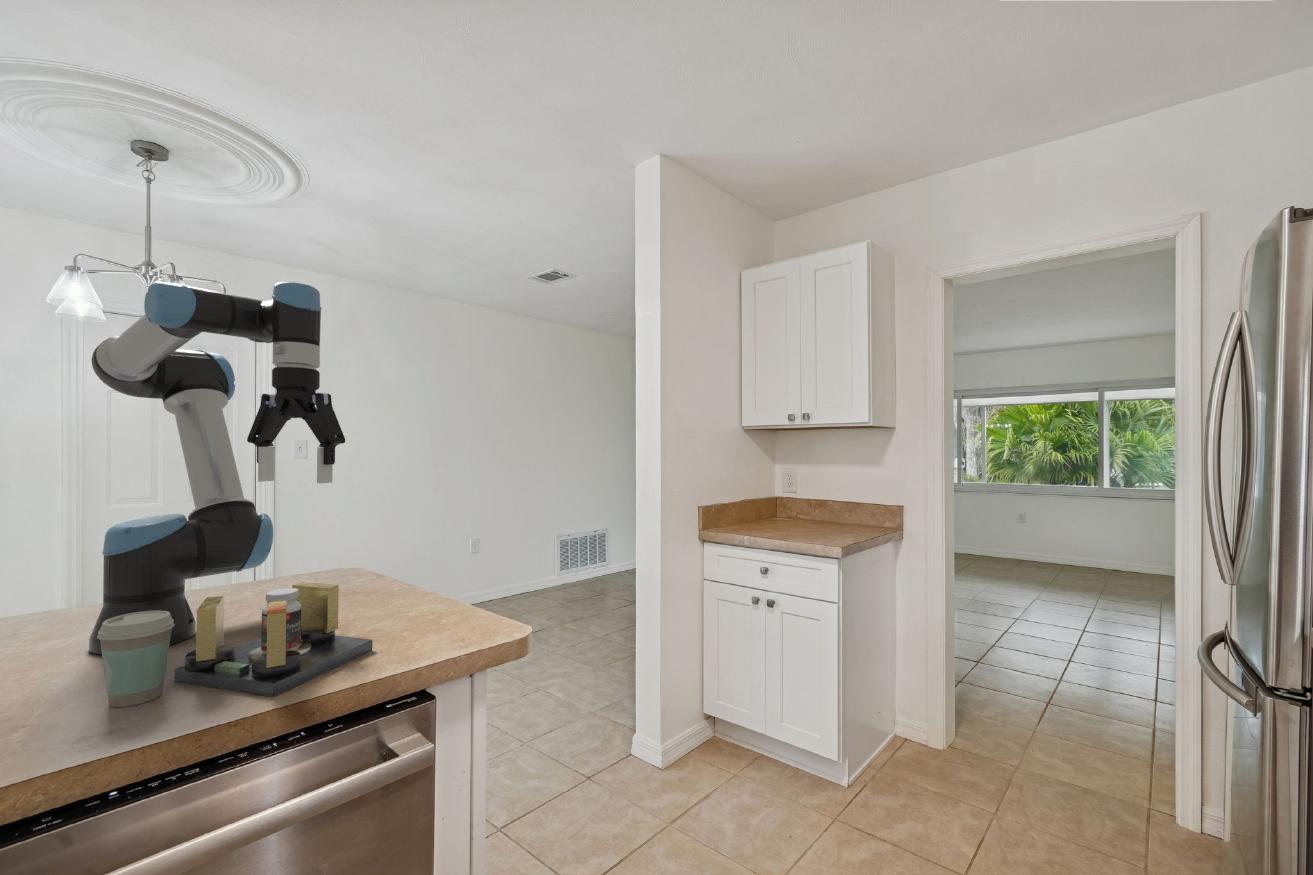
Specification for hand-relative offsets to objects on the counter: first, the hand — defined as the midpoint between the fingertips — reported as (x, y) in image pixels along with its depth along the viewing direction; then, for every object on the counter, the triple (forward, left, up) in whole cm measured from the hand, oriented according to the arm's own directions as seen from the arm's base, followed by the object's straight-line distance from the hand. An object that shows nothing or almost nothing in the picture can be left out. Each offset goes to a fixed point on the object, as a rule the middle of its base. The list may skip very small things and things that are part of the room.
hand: (295, 482), depth 106 cm
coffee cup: (-4, -23, -31) cm, 39 cm away
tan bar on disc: (+11, -13, -29) cm, 33 cm away
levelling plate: (+5, -7, -31) cm, 32 cm away
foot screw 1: (-2, -14, -29) cm, 32 cm away
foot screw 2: (+5, 0, -29) cm, 29 cm away
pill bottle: (+5, -7, -28) cm, 30 cm away
